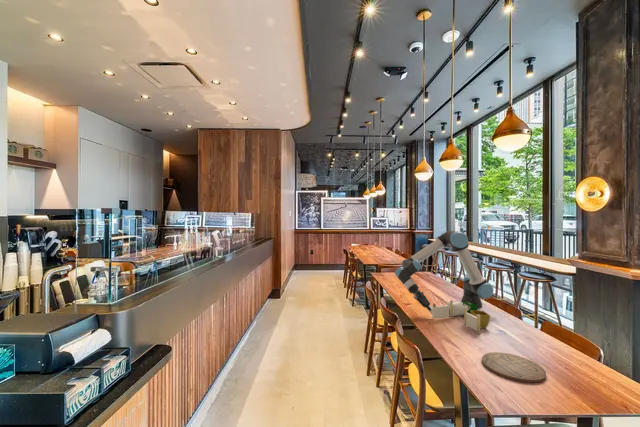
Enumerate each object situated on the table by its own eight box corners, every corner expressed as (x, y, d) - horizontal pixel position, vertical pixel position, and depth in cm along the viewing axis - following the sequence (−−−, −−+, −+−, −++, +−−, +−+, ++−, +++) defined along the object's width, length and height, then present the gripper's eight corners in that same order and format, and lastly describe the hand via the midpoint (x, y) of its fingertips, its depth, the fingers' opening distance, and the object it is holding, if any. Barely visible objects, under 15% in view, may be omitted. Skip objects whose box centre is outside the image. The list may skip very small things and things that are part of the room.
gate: (447, 316, 202) (447, 302, 202) (449, 317, 201) (449, 303, 201) (432, 318, 199) (432, 304, 199) (433, 319, 197) (433, 304, 197)
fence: (449, 317, 203) (449, 300, 203) (453, 317, 203) (453, 300, 203) (478, 333, 175) (478, 314, 175) (482, 333, 175) (482, 313, 176)
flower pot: (484, 324, 191) (484, 310, 191) (490, 329, 182) (490, 315, 182) (470, 323, 191) (470, 310, 192) (475, 328, 183) (475, 314, 183)
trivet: (516, 388, 120) (516, 383, 120) (469, 359, 144) (470, 355, 144) (560, 379, 127) (560, 374, 127) (508, 353, 151) (508, 349, 151)
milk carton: (472, 313, 213) (444, 313, 213) (471, 301, 214) (444, 301, 214) (478, 317, 204) (450, 316, 204) (478, 304, 205) (449, 303, 205)
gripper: (411, 287, 219) (433, 314, 208) (404, 290, 209) (427, 319, 198) (418, 281, 215) (441, 308, 205) (411, 284, 205) (435, 313, 195)
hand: (434, 314), depth 201 cm, fingers closed
